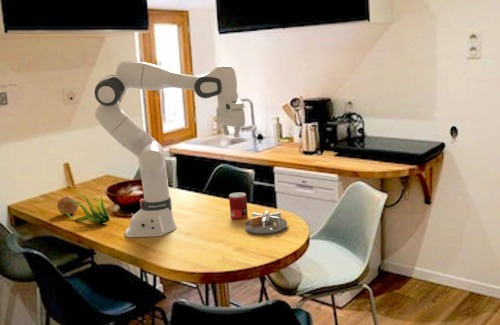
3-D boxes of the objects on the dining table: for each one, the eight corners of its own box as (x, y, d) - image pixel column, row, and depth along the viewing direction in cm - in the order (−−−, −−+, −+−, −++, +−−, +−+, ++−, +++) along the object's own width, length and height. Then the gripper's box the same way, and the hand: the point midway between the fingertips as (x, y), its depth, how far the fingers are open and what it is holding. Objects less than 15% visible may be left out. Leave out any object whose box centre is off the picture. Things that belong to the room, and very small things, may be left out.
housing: (247, 237, 217) (247, 227, 216) (243, 223, 234) (242, 213, 233) (290, 232, 219) (290, 222, 218) (283, 218, 236) (282, 209, 235)
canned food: (246, 219, 239) (244, 196, 236) (229, 220, 240) (227, 197, 238) (249, 214, 246) (247, 191, 243) (232, 214, 247) (230, 192, 245)
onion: (58, 213, 270) (55, 195, 268) (78, 210, 273) (75, 191, 271) (59, 218, 261) (56, 199, 259) (79, 215, 265) (77, 196, 262)
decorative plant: (96, 210, 272) (92, 182, 269) (111, 224, 247) (107, 194, 243) (60, 217, 264) (55, 189, 260) (72, 233, 238) (67, 202, 235)
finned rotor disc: (256, 230, 218) (255, 222, 217) (245, 221, 229) (244, 214, 229) (286, 223, 223) (286, 216, 222) (274, 215, 234) (274, 208, 233)
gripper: (211, 103, 230) (214, 134, 233) (232, 106, 212) (236, 139, 215) (224, 101, 233) (227, 132, 236) (246, 104, 215) (249, 137, 218)
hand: (231, 135), depth 226 cm, fingers open, 8 cm apart
